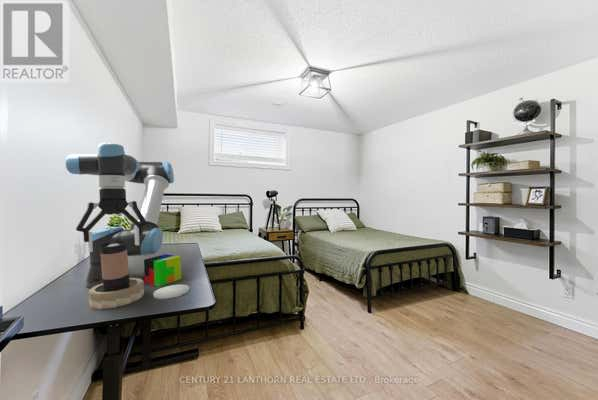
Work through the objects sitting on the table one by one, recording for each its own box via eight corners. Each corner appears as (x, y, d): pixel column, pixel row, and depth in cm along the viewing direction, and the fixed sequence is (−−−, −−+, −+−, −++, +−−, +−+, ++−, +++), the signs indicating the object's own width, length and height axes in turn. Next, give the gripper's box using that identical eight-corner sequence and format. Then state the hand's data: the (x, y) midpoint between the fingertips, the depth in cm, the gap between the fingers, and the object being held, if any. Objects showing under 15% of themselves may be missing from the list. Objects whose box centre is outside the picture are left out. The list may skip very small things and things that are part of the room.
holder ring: (86, 300, 89) (85, 286, 89) (136, 287, 101) (135, 275, 101) (94, 313, 79) (93, 297, 79) (149, 297, 90) (148, 284, 90)
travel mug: (117, 304, 86) (112, 247, 83) (98, 302, 87) (93, 246, 84) (135, 293, 93) (131, 241, 91) (118, 291, 94) (113, 240, 92)
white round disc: (148, 293, 95) (148, 291, 95) (181, 284, 103) (181, 282, 103) (160, 302, 86) (160, 299, 86) (194, 291, 95) (194, 289, 95)
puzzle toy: (166, 275, 115) (166, 254, 115) (181, 278, 111) (180, 256, 110) (144, 282, 107) (143, 259, 106) (159, 286, 102) (158, 262, 102)
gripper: (66, 187, 77) (69, 256, 77) (155, 187, 95) (157, 243, 96) (63, 188, 82) (66, 253, 83) (148, 188, 101) (150, 241, 101)
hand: (115, 248), depth 89 cm, fingers open, 13 cm apart
